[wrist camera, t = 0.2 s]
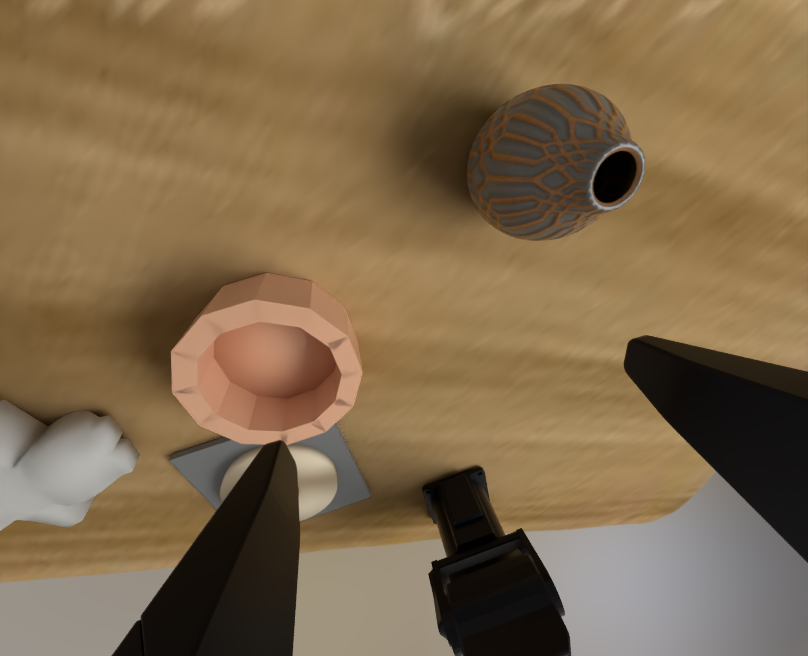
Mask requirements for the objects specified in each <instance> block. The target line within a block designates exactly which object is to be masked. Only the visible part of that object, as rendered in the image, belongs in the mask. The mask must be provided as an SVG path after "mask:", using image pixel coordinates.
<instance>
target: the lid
mask: <svg viewBox="0 0 808 656" xmlns="http://www.w3.org/2000/svg"><path fill="white" fill-rule="evenodd" d="M262 447H263V446H260V447H257V448H254V449H252V450H249V451H248V452H246V453H244V454H242V455H241V456H239V457H238V458H237V459H235V460H234V461H233V462H232V463H231V465H230V466H229V467H228V469H227V470H226V472H225V475H224V478H223V481H222V485H221V489H220V498H221V502H223V501H224V499H225V498H226V497H227V495H228V494H229V493H230V491H231V490H232V488H233V487H234V486H235V484H236V483H237V481H238V480H239V479H240V477H241V476H242V474H243V473H244V472H245V470H246V469H247V468H248V466H249V465H250V463H251V462H252V461H253V459H254V458H255V456H256V455H257V454H258V452H259V451H260V450H261V448H262ZM287 447H288V449H289V451H290V453H291V454H292V456H293V458H294V460H295V462H296V466H297V474H298V497H299V519H300V521H302V520H305V519H308V518H310V517H312V516H314V515H316V514H317V513H319V512H320V511H322V510H323V509H324V508H326V507H327V506H328V505H329V503H330V502H331V501H332V500H333V498H334V496H335V494H336V491H337V471H336V467H335V465H334V463H333V461H332V460H331V459H330V458H329V457H328V456H327V455H326V454H325V453H323V452H322V451H320V450H318V449H316V448H313V447H311V446H307V445H304V444H298V443H292V444H289V445H287Z"/></svg>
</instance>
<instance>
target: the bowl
mask: <svg viewBox="0 0 808 656" xmlns="http://www.w3.org/2000/svg"><path fill="white" fill-rule="evenodd" d="M171 370H172V393H173V394H174V396H175V397H176V398H177V399H178V400H179V402H180V403H181V404H182V405H183V407H184V408H185V409H186V410H187V411H188V413H189V414H190V415H191V416H192V417H193V419H194V420H195V421H196V422H197V424H198V425H199V426H201V427H203V428H206V429H208V430H210V431H213V432H215V433H217V434H220V435H222V436H224V437H227V438H229V439H231V440H233V441H236V442H238V443H240V444H262V445H265V444H267V443H270V442H274V441H277V440H283V441H284V442H285V443H286V445H289V444H292V443H295V442H298V441H301V440H304V439H307V438H310V437H313V436H316V435H319V434H322V433H325V432H326V431H327V430H329V429H330V428H331V427H332V426H333V425H334V424H335V423H336V422H337V421H338V420H339V419H340V418H341V417H343V416H344V415H345V414H346V413H347V412H348V411H349V410H350V409H351V408H352V407H353V406H354V402H355V399H356V395H357V391H358V388H359V384H360V380H361V377H362V373H363V371H362V365H361V359H360V353H359V347H358V341H357V337H356V335H355V332H354V329H353V327H352V324H351V322H350V319H349V316H348V314H347V311H346V308H345V306H343V305H342V304H341V303H340V302H338V301H337V300H336V299H334V298H333V297H332V296H331V295H329V294H328V293H327V292H325V291H324V290H323V289H322V288H320V287H319V286H318V285H316V284H315V283H314V282H313V281H308V280H303V279H297V278H292V277H287V276H282V275H276V274H271V273H264V274H261V275H257V276H254V277H251V278H248V279H244V280H241V281H238V282H234V283H231V284H228V285H224V286H222V288H221V289H220V290H219V291H218V292H217V294H216V295H215V296H214V297H213V298H212V299H211V301H210V302H209V303H208V304H207V305H206V307H205V308H204V309H203V310H202V311H201V312H200V314H199V315H198V316H197V317H196V319H195V320H194V321H193V323H192V324H191V325H190V327H189V328H188V329H187V331H186V332H185V333H184V335H183V336H182V337H181V339H180V340H179V341H178V343H177V344H176V345H175V347H174V348H173V349H172V351H171Z"/></svg>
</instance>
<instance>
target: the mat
mask: <svg viewBox="0 0 808 656" xmlns="http://www.w3.org/2000/svg"><path fill="white" fill-rule="evenodd" d="M295 443H298V444H304V445H307V446H311V447H313V448H316V449H318V450H320V451H322V452H323V453H325V454H326V455H327V456H328V457H329V458H330V459H331V460H332V461H333V463H334V465H335V467H336V471H337V491H336V494H335V496H334V498H333V500H332V501H331V502H330V503H329V505H328V506H327V507H326V508H324V509H323V510H322V511H320V512H319V513H317V514H316V515H314V516H312V517H310V518H313V517H315V516H318V515H321V514H324V513H327V512H330V511H333V510H336V509H338V508H341V507H344V506H347V505H350V504H353V503H356V502H358V501H361V500H364V499H367V498H370V497H371V494H370V490H369V488H368V486H367V484H366V482H365V480H364V478H363V476H362V474H361V472H360V470H359V468H358V466H357V464H356V462H355V460H354V458H353V456H352V454H351V452H350V450H349V448H348V446H347V444H346V442H345V440H344V438H343V436H342V434H341V432H340V430H339V428H338V426H337V424H336V423H335V424H334V425H333V426H332V427H331V428H330V429H329V430H327V431H326V432H325V433H322V434H319V435H316V436H313V437H310V438H307V439H304V440H301V441H298V442H295ZM260 446H264V445H262V444H240V443H238V442H236V441H233V440H231V439H229V438H227V437H222V438H219V439H216V440H213V441H210V442H207V443H204V444H201V445H198V446H195V447H192V448H189V449H186V450H183V451H180V452H177V453H174V454H172V456H171V458H170V460H169V461H170V462H171V463H172V464H173V465H174V466H175V467H176V468H177V469H178V470H179V471H180V472H181V473H182V474H183V475H184V476H185V477H186V478H187V479H188V481H189V482H190V483H191V484H192V485H193V486H194V487H195V488H196V489H197V490H198V491H199V492H200V493H201V494H202V495H203V496H204V497H205V498H206V499H207V500H208V501H209V502H210V503H211V504H212V505H213V506H214V507H215V508H216V509H218V508H219V506H220V505H221V504H222V502H221V498H220V489H221V485H222V481H223V478H224V475H225V472H226V470H227V469H228V467H229V466H230V465H231V463H232V462H233V461H234V460H235V459H237V458H238V457H239V456H241V455H242V454H244V453H246V452H248V451H249V450H252V449H254V448H257V447H260ZM310 518H308V519H310ZM305 520H307V519H305ZM302 521H304V520H302ZM300 522H301V521H300Z"/></svg>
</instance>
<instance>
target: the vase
mask: <svg viewBox="0 0 808 656" xmlns="http://www.w3.org/2000/svg"><path fill="white" fill-rule="evenodd" d="M644 172H645V157H644V154H643V151H642V150H641V148H640V147H639V146H638V145H637V144H636V143H635V142H633V141H632V139H631V135H630V132H629V128H628V126H627V123H626V121H625V119H624V117H623V115H622V114H621V112H620V111H619V109H618V108H617V107H616V106H615V105H614V104H613V103H612V102H611V101H610V100H609V99H607V98H606V97H605V96H603V95H601V94H599V93H597V92H595V91H593V90H591V89H588V88H585V87H582V86H577V85H572V84H552V85H546V86H541V87H538V88H535V89H532V90H529V91H526V92H524V93H522V94H519V95H517V96H515V97H514V98H512V99H510V100H509V101H507V102H506V103H505V104H503V105H502V106H501V107H500V108H499V109H497V110H496V111H495V112H494V113H493V114H492V115H491V116H490V117H489V119H488V120H487V121H486V122H485V124H484V125H483V126H482V128H481V129H480V131H479V133H478V134H477V136H476V138H475V140H474V143H473V145H472V148H471V151H470V154H469V159H468V165H467V183H468V188H469V192H470V195H471V198H472V201H473V203H474V205H475V207H476V208H477V210H478V212H479V213H480V214H481V216H482V217H483V218H484V219H485V220H486V221H487V222H488V223H489V224H491V225H492V226H493V227H495V228H496V229H498V230H499V231H501V232H503V233H505V234H507V235H509V236H512V237H515V238H518V239H523V240H532V241H543V240H552V239H558V238H562V237H565V236H569V235H571V234H574V233H576V232H578V231H580V230H582V229H584V228H585V227H587V226H588V225H590V224H591V223H593V222H594V221H595V220H597V219H598V218H599V217H600V216H602V215H603V214H604V213H606V212H609V211H612V210H615V209H617V208H619V207H621V206H622V205H624V204H625V203H626V202H627V201H628V200H629V199H630V198H631V197H632V196H633V195H634V194H635V192H636V191H637V189H638V188H639V186H640V184H641V182H642V179H643V176H644Z"/></svg>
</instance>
